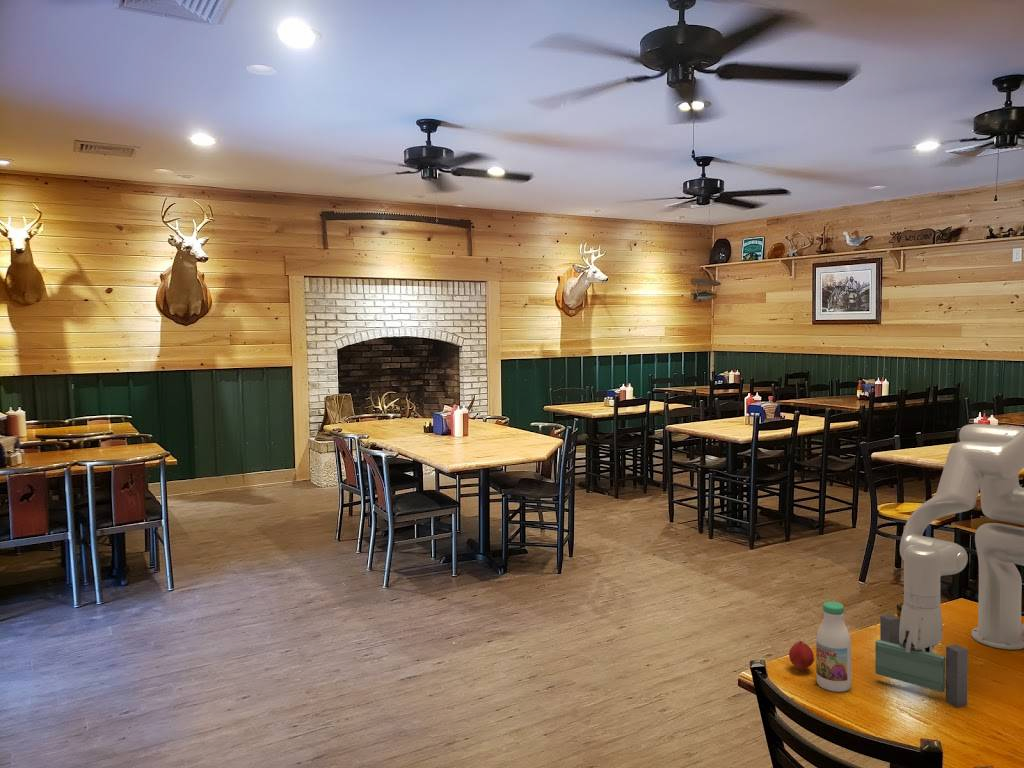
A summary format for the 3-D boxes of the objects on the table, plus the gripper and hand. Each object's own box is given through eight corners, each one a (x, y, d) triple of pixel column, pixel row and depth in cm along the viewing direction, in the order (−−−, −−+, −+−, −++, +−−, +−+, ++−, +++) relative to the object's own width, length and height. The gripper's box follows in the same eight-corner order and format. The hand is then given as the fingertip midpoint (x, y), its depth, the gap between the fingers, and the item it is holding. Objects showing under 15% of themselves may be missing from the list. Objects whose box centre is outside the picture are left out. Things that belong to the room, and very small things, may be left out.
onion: (785, 665, 188) (784, 635, 187) (806, 664, 188) (806, 633, 188) (795, 676, 182) (795, 645, 181) (818, 674, 182) (817, 643, 182)
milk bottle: (824, 674, 183) (823, 596, 181) (856, 684, 177) (856, 603, 175) (811, 685, 177) (810, 605, 176) (843, 696, 172) (843, 613, 170)
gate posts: (889, 663, 187) (889, 613, 186) (967, 705, 166) (967, 649, 165) (880, 665, 186) (880, 615, 185) (957, 707, 165) (957, 651, 164)
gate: (944, 690, 169) (945, 656, 168) (942, 693, 167) (942, 659, 167) (877, 671, 179) (877, 639, 178) (874, 674, 177) (874, 642, 177)
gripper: (926, 587, 180) (926, 659, 182) (886, 600, 173) (887, 675, 175) (957, 596, 174) (956, 671, 175) (916, 611, 167) (916, 688, 168)
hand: (922, 673), depth 175 cm, fingers closed
